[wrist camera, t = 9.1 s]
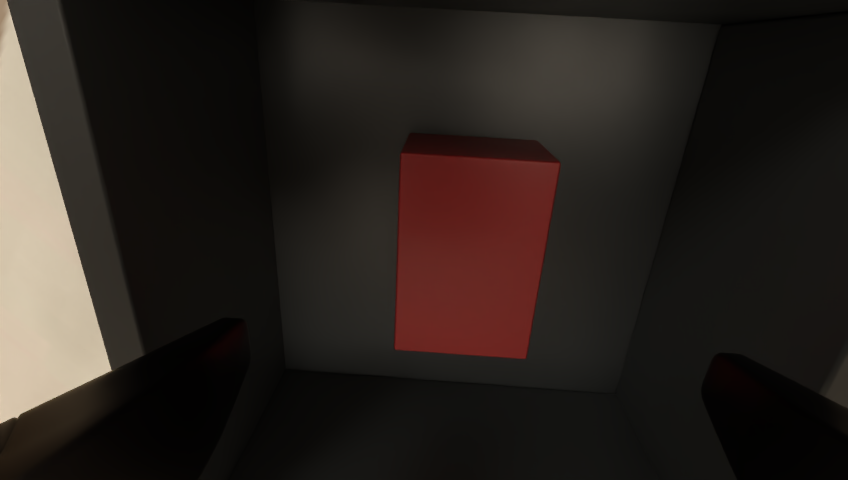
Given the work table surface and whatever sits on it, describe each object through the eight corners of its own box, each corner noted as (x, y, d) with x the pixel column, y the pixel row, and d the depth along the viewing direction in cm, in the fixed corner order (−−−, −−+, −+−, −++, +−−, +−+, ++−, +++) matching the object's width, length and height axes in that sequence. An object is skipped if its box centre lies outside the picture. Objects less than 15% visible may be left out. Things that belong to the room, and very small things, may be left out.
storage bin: (624, 399, 18) (737, 618, 11) (273, 373, 18) (167, 569, 11) (746, -5, 12) (1142, -82, 5) (231, -33, 13) (-35, -139, 6)
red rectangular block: (512, 307, 16) (526, 360, 13) (402, 299, 16) (393, 350, 13) (538, 140, 14) (562, 162, 11) (409, 132, 14) (399, 152, 11)
